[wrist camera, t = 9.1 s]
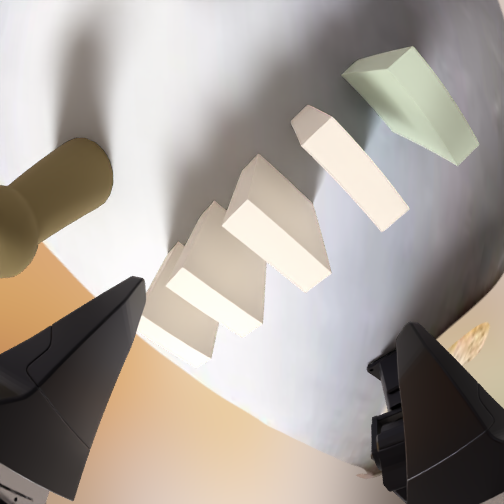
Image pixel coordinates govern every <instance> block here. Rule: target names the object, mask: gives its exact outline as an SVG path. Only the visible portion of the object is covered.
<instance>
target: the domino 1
mask: <svg viewBox="0 0 504 504" xmlns="http://www.w3.org/2000/svg"><path fill="white" fill-rule="evenodd" d="M184 247H185V246H184V245H182V244H181V243H180V242H179V241H178V242H177V243H176V245H175V246H174V247H173V248H172V249H171V251H170V252H169V253H168V254H167V256H166V258H165V260H164V261H163V263H162V265H161V267H160V269H159V270H158V272H157V274H156V276H155V278H154V280H153V281H152V283H151V285H150V287H149V289H148V291H147V293H146V303H145V307H144V310H143V313H142V316H141V319H140V322H139V325H138V328H137V332H138V333H140V334H141V335H143V336H144V337H146V338H147V339H149V340H150V341H152V342H154V343H155V344H157V345H158V346H160V347H162V348H163V349H165V350H166V351H168V352H170V353H171V354H173V355H175V356H176V357H178V358H180V359H181V360H183V361H185V362H187V363H188V364H190V365H192V366H194V367H195V368H198V367H199V366H201V365H202V364H204V363H206V362H207V361H209V360H210V359H211V357H212V353H213V348H214V343H215V339H216V334H217V329H218V325H219V323H218V322H217V321H215V320H214V319H212V318H211V317H209V316H208V315H206V314H205V313H203V312H202V311H200V310H199V309H197V308H196V307H195V306H193V305H192V304H190V303H189V302H187V301H186V300H184V299H183V298H182V297H180V296H179V295H177V294H176V293H174V292H173V291H172V290H170V289H169V288H167V287H166V286H165V285H166V283H167V281H168V279H169V277H170V275H171V273H172V271H173V269H174V267H175V265H176V263H177V261H178V259H179V257H180V255H181V253H182V251H183V249H184Z"/></svg>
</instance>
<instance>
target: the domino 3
mask: <svg viewBox="0 0 504 504" xmlns="http://www.w3.org/2000/svg"><path fill="white" fill-rule="evenodd" d="M222 227H224V228H225V229H226V230H227V231H229V232H230V233H231V234H232V235H234V236H235V237H236V238H237V239H239V240H240V241H241V242H242V243H244V244H245V245H246V246H247V247H249V248H250V249H251V250H252V251H254V252H255V253H256V254H257V255H259V256H260V257H261V258H262V259H264V260H265V261H266V262H267V263H268V264H270V265H271V266H272V267H273V268H275V269H276V270H277V271H278V272H280V273H281V274H282V275H283V276H285V277H286V278H287V279H288V280H290V281H291V282H292V283H293V284H295V285H296V286H297V287H298V288H300V289H301V290H302V291H303V292H305V293H306V292H308V291H309V290H310V289H312V288H313V287H314V286H315V285H317V284H318V283H319V282H321V281H322V280H323V279H325V278H326V277H327V276H329V275H330V274H331V269H330V265H329V261H328V257H327V253H326V249H325V245H324V241H323V238H322V234H321V230H320V227H319V223H318V220H317V216H316V213H315V209H314V206H313V203H312V202H311V201H310V200H309V199H308V198H307V197H306V196H305V195H304V194H302V193H301V192H300V191H299V190H298V189H297V188H296V187H295V186H294V185H293V184H292V183H291V182H290V181H289V180H288V179H286V178H285V177H284V176H283V175H282V174H281V173H280V172H279V171H278V170H277V169H275V168H274V167H273V166H272V165H271V164H270V163H269V162H268V161H267V160H265V159H264V158H263V157H262V156H261V155H260V154H259V153H258V154H257V155H256V156H255V157H254V158H253V159H252V161H251V162H250V163H249V164H248V165H247V166H246V167H245V168H244V169H243V170H242V172H241V174H240V177H239V180H238V182H237V185H236V188H235V190H234V193H233V196H232V198H231V201H230V204H229V206H228V209H227V212H226V215H225V217H224V220H223V223H222Z"/></svg>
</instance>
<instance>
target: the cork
mask: <svg viewBox="0 0 504 504" xmlns="http://www.w3.org/2000/svg"><path fill="white" fill-rule="evenodd" d="M112 186H113V171H112V168H111V164H110V160H109V159H108V157H107V155H106V154H105V152H104V150H103V149H102V148H101V147H100V146H99V145H98V144H96V143H95V142H93V141H91V140H89V139H87V138H74V139H72V140H69V141H67V142H66V143H64V144H63V145H61V146H60V147H58V148H57V149H55V150H54V151H52V152H51V153H50V154H48V155H47V156H45V157H44V158H43V159H41V160H40V161H39V162H37V163H36V164H35V165H33V166H32V167H31V168H29V169H28V170H27V171H26V172H24V173H23V174H22V175H21V176H19V177H18V178H17V179H16V180H14V181H13V182H12V183H11V184H10V185H8V186H3V185H0V278H9V277H14V276H16V275H18V274H20V273H21V272H22V271H23V270H24V269H25V268H26V267H27V266H28V265H29V264H30V263H31V261H32V259H33V258H34V256H35V254H36V251H37V248H38V244H39V243H41V242H42V241H44V240H45V239H47V238H48V237H50V236H51V235H53V234H55V233H56V232H58V231H59V230H61V229H63V228H64V227H66V226H67V225H69V224H71V223H72V222H74V221H76V220H77V219H79V218H81V217H82V216H84V215H86V214H88V213H89V212H91V211H93V210H95V209H96V208H98V207H99V206H101V205H102V204H104V203H105V202H106V200H107V199H108V197H109V196H110V193H111V190H112Z"/></svg>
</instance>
